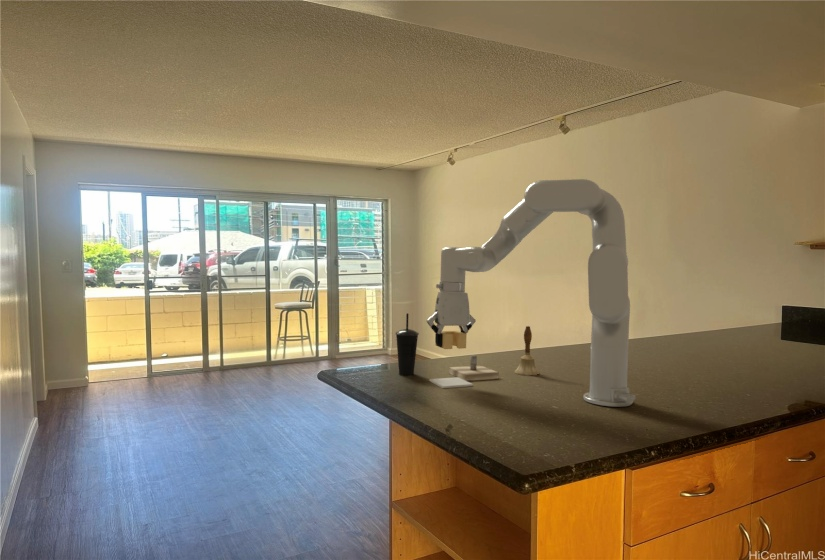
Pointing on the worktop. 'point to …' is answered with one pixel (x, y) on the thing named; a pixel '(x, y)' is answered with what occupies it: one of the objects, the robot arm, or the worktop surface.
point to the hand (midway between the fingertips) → (450, 345)
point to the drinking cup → (406, 349)
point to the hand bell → (527, 357)
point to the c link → (453, 339)
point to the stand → (473, 371)
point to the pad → (450, 382)
